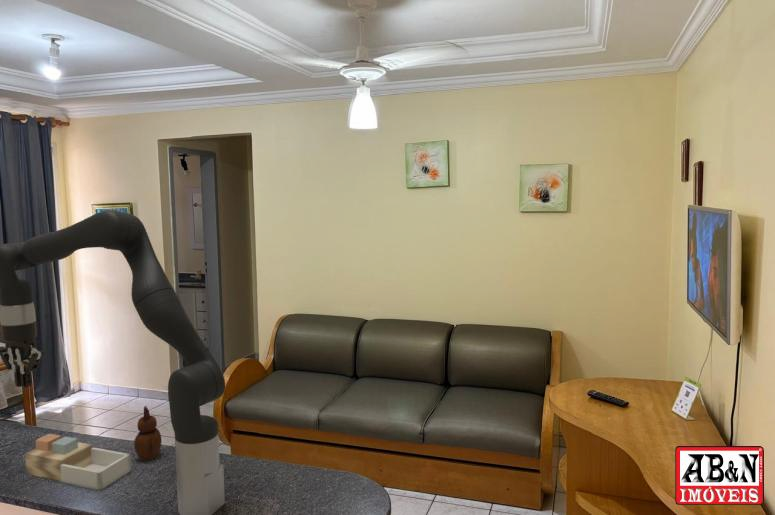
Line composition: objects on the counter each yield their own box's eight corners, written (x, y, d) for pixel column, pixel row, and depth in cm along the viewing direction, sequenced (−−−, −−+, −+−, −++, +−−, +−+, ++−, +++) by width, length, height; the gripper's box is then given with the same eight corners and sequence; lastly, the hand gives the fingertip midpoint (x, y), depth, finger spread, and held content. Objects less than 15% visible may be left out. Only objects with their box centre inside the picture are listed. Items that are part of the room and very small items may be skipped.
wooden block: (92, 464, 144) (91, 444, 144) (63, 481, 136) (61, 460, 135) (57, 457, 148) (56, 438, 147) (26, 473, 140) (25, 453, 139)
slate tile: (78, 447, 142) (77, 438, 142) (64, 454, 138) (64, 445, 138) (66, 445, 143) (65, 436, 143) (52, 452, 139) (51, 443, 139)
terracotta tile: (61, 444, 144) (60, 435, 143) (48, 451, 140) (47, 442, 140) (49, 442, 145) (49, 433, 145) (36, 449, 141) (35, 440, 141)
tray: (131, 470, 141) (130, 454, 141) (100, 490, 132) (99, 473, 131) (94, 463, 145) (93, 447, 144) (61, 482, 135) (60, 465, 135)
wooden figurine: (150, 464, 145) (147, 409, 143) (131, 461, 146) (128, 407, 144) (166, 452, 151) (163, 399, 150) (147, 450, 153) (144, 398, 151)
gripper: (51, 319, 142) (56, 384, 144) (12, 315, 146) (17, 378, 148) (24, 326, 135) (30, 394, 137) (-16, 322, 139) (-11, 388, 141)
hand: (23, 386), depth 143 cm, fingers closed
